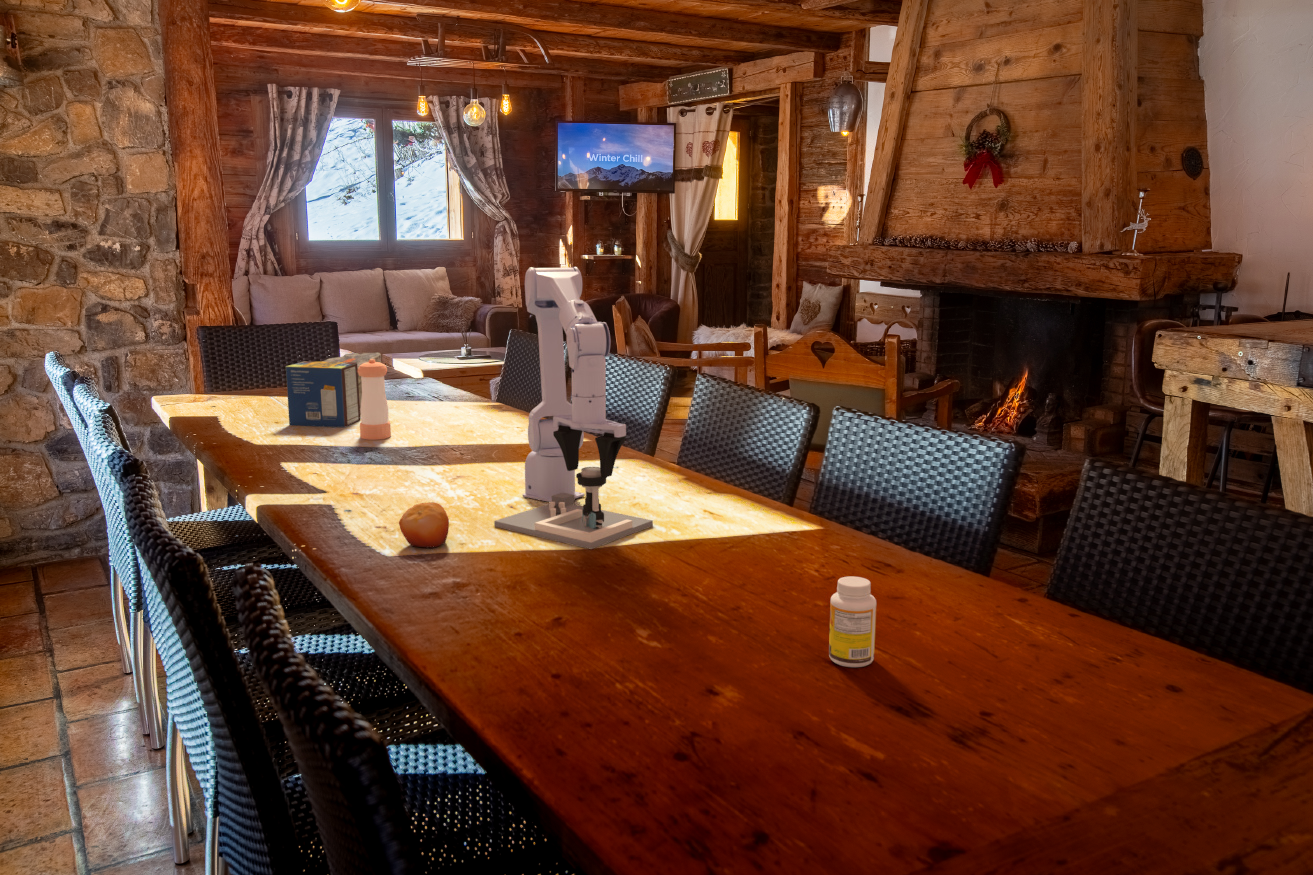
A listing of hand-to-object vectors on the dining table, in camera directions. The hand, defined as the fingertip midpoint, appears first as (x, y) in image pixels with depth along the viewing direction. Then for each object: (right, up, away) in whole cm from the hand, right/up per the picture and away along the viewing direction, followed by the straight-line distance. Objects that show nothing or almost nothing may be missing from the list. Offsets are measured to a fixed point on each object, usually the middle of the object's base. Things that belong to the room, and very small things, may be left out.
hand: (589, 473), depth 186 cm
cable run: (-6, -7, +12) cm, 15 cm away
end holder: (-1, -9, +1) cm, 9 cm away
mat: (-3, -10, +5) cm, 11 cm away
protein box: (-75, +10, +98) cm, 124 cm away
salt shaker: (-57, +6, +80) cm, 99 cm away
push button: (+1, -9, +1) cm, 10 cm away
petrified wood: (-76, +15, +123) cm, 146 cm away
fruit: (-27, -12, -6) cm, 30 cm away
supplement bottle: (+36, -22, -52) cm, 66 cm away
